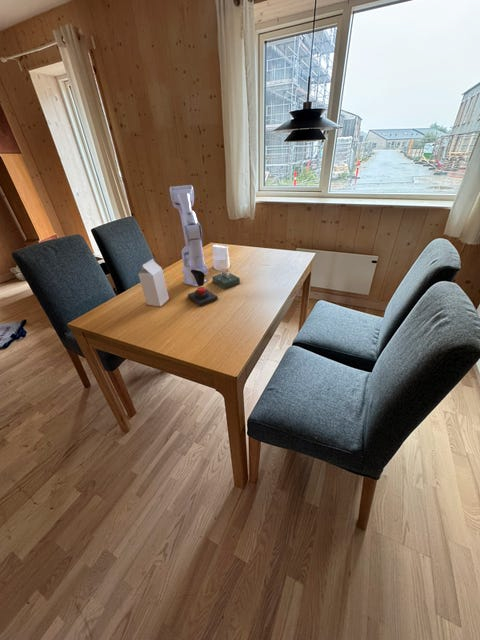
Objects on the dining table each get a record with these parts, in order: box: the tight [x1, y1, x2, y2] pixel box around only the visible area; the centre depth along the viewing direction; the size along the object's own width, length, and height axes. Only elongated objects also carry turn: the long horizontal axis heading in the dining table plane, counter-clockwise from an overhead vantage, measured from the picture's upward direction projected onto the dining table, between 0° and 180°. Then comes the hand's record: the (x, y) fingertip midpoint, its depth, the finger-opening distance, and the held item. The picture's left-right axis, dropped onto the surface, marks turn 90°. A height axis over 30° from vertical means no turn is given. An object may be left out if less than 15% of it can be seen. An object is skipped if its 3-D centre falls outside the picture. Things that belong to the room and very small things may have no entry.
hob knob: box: [220, 269, 230, 279], centre depth 129 cm, size 5×2×4 cm, turn 37°
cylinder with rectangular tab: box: [211, 244, 231, 271], centre depth 146 cm, size 9×9×12 cm
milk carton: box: [137, 258, 170, 307], centre depth 114 cm, size 7×7×19 cm
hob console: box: [211, 272, 241, 290], centre depth 131 cm, size 11×9×3 cm
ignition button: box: [196, 286, 206, 294], centre depth 117 cm, size 4×4×2 cm
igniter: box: [187, 288, 218, 307], centre depth 118 cm, size 11×9×4 cm
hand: (200, 285), depth 116 cm, fingers closed
